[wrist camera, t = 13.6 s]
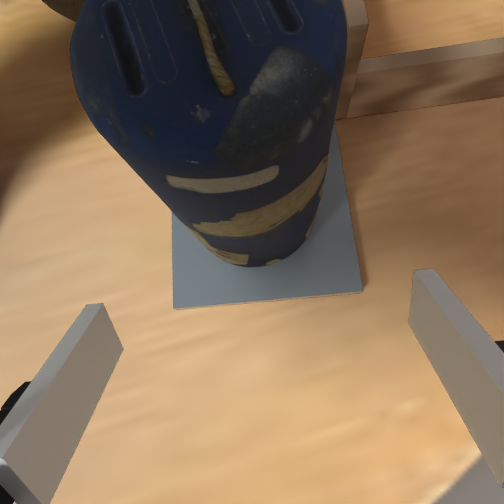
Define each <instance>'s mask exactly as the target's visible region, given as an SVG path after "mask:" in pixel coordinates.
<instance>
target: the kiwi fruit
mask: <svg viewBox="0 0 504 504" xmlns="http://www.w3.org/2000/svg"><path fill="white" fill-rule="evenodd" d="M42 1H43V2H44V3H45V4H46V5H48V6H49V7H50V8H51V9H53V10H55V11H56V12H58V13H59V14H61V15H63V16H65V17H66V18H68V19H71V20H73V21H75V22H77V20H78V17H79V14H80V12H81V9H82V7H83V5H84V3H85V1H86V0H42Z"/></svg>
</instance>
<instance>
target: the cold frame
mask: <svg viewBox="0 0 504 504" xmlns="http://www.w3.org/2000/svg"><path fill="white" fill-rule="evenodd" d="M341 1H342V4H343V8H344V11H345V16H346V23H347V53H346V62H345V68H344V73H343V78H342V83H341V88H340V93H339V98H338V104H337V109H336V115H335V120H337V119H344V118H352V117H359V116H366V115H373V114H381V113H388V112H395V111H402V110H410V109H417V108H424V107H431V106H439V105H446V104H453V103H461V102H468V101H475V100H482V99H490V98H497V97H504V38H498V39H491V40H484V41H478V42H471V43H465V44H458V45H452V46H445V47H438V48H432V49H425V50H419V51H412V52H406V53H399V54H392V55H386V56H379V57H373V58H366V59H361V55H362V51H363V46H364V42H365V38H366V34H367V30H368V25H369V21H368V17H367V12H366V7H365V3H364V0H341Z"/></svg>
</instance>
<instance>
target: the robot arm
mask: <svg viewBox="0 0 504 504" xmlns="http://www.w3.org/2000/svg"><path fill="white" fill-rule="evenodd" d="M408 323H409V325H410V327H411V329H412V330H413V332H414V334H415V336H416V338H417V339H418V341H419V343H420V345H421V346H422V348H423V350H424V352H425V354H426V355H427V357H428V359H429V361H430V362H431V364H432V366H433V368H434V370H435V371H436V373H437V375H438V377H439V378H440V380H441V382H442V384H443V386H444V387H445V389H446V391H447V393H448V395H449V396H450V398H451V400H452V402H453V403H454V405H455V407H456V409H457V411H458V412H459V414H460V416H461V418H462V419H463V421H464V423H465V425H466V427H467V428H468V430H469V432H470V434H471V435H472V437H473V439H474V441H475V443H476V444H477V446H478V448H479V450H480V451H481V453H482V455H483V457H484V459H485V460H486V462H487V464H488V466H489V467H490V469H491V471H492V473H493V475H494V476H495V478H496V480H497V481H498V483H499V485H500V487H501V488H504V341H493V339H492V338H491V337H490V336H489V335H488V333H487V332H486V331H485V330H484V329H483V327H482V326H481V325H480V324H479V323H478V321H477V320H476V319H475V318H474V317H473V315H472V314H471V313H470V312H469V311H468V309H467V308H466V307H465V306H464V304H463V303H462V302H461V301H460V300H459V298H458V297H457V296H456V295H455V294H454V292H453V291H452V290H451V289H450V288H449V286H448V285H447V284H446V283H445V282H444V280H443V279H442V278H441V277H440V276H439V274H438V273H437V272H436V271H435V270H434V268H433V269H423V270H414V273H413V283H412V292H411V302H410V312H409V321H408ZM122 351H123V347H122V344H121V342H120V340H119V338H118V335H117V333H116V331H115V329H114V326H113V324H112V322H111V320H110V318H109V315H108V313H107V311H106V309H105V306H104V304H103V303H99V304H90V305H86V306H85V308H84V309H83V310H82V312H81V313H80V315H79V316H78V317H77V319H76V320H75V322H74V323H73V324H72V326H71V327H70V328H69V330H68V331H67V333H66V334H65V335H64V337H63V338H62V340H61V341H60V342H59V344H58V345H57V347H56V348H55V349H54V351H53V352H52V354H51V355H50V356H49V358H48V359H47V361H46V362H45V363H44V365H43V366H42V368H41V369H40V370H39V372H38V373H37V375H36V376H35V377H34V379H33V380H32V381H30V382H25V383H24V384H23V385H21V386H20V387H19V388H18V389H17V390H16V391H15V392H13V393H12V394H11V395H10V397H9V398H8V399H7V401H6V402H5V403H4V405H3V406H2V407H1V411H0V504H13V503H14V501H15V502H16V503H17V504H50V502H51V500H52V498H53V496H54V494H55V492H56V490H57V488H58V485H59V483H60V481H61V479H62V477H63V475H64V473H65V471H66V469H67V467H68V465H69V462H70V460H71V458H72V456H73V454H74V452H75V450H76V448H77V446H78V444H79V441H80V439H81V437H82V435H83V433H84V431H85V429H86V427H87V425H88V423H89V420H90V418H91V416H92V414H93V412H94V410H95V408H96V406H97V404H98V402H99V400H100V397H101V395H102V393H103V391H104V389H105V387H106V385H107V383H108V381H109V379H110V376H111V374H112V372H113V370H114V368H115V366H116V364H117V362H118V360H119V358H120V355H121V353H122Z"/></svg>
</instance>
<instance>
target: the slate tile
mask: <svg viewBox="0 0 504 504" xmlns="http://www.w3.org/2000/svg"><path fill="white" fill-rule="evenodd" d="M329 155H330V160H329V162H328V164H327V170H326V176H325V181H324V186H323V192H322V199H321V200H320V202H319V206H318V211H317V216H316V219H315V222H314V225H313V228H312V230H311V232H310V234H309V236H308V238H307V239H306V240H305V242H304V243H303V244H302V245H301V246H300V247H299V248H298V249H297V250H296V251H295V252H294V253H293V254H291V255H290V256H288V257H287V258H285V259H283V260H282V261H279V262H277V263H275V264H271V265H267V266H262V267H241V266H236V265H233V264H230V263H227V262H225V261H223V260H221V259H219V258H217V257H216V256H214V255H213V254H212V253H210V252H209V251H208V250H207V249H206V248H205V247H204V246H203V245H202V244H201V243H200V241H199V240H198V239H197V238H196V237H195V236H194V235H193V234H192V233H191V232H190V231H189V230H188V229H187V228H186V227H185V225H184V224H182V222H181V221H180V220H179V219H178V218H177V217H176V216H175V215H174V213H173V212H172V262H173V309H176V310H182V309H193V308H204V307H215V306H225V305H236V304H247V303H258V302H269V301H280V300H291V299H302V298H312V297H323V296H334V295H345V294H356V293H361V292H363V287H362V281H361V275H360V269H359V263H358V257H357V251H356V245H355V239H354V233H353V227H352V221H351V215H350V209H349V203H348V197H347V191H346V185H345V179H344V173H343V167H342V161H341V155H340V149H339V143H338V137H337V131H336V125H335V123H334V125H333V130H332V136H331V141H330V147H329Z"/></svg>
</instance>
